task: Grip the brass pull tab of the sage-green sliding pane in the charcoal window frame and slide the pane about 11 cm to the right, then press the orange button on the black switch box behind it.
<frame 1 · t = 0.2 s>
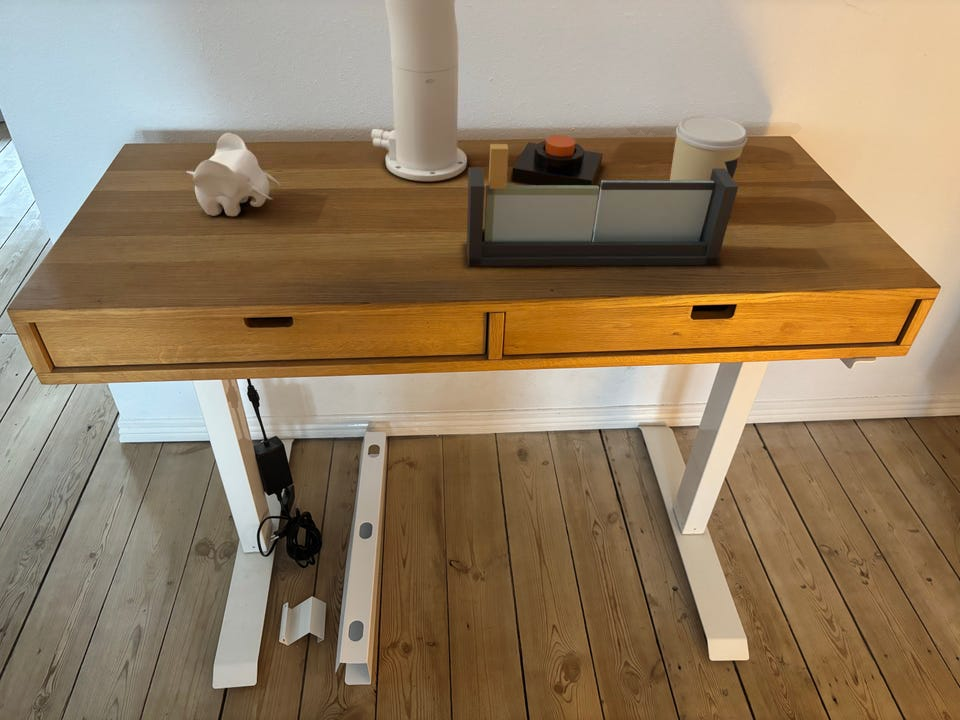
sliding pane: (541, 199, 89), point 8 cm above the table, slide at 0.0 cm
button: (560, 146, 110), point 4 cm above the table, slide at 0.1 cm
coffee cup: (692, 209, 106), on the table
switch box: (557, 173, 113), on the table
window frame: (590, 255, 95), on the table
elephant figurine: (237, 208, 102), on the table
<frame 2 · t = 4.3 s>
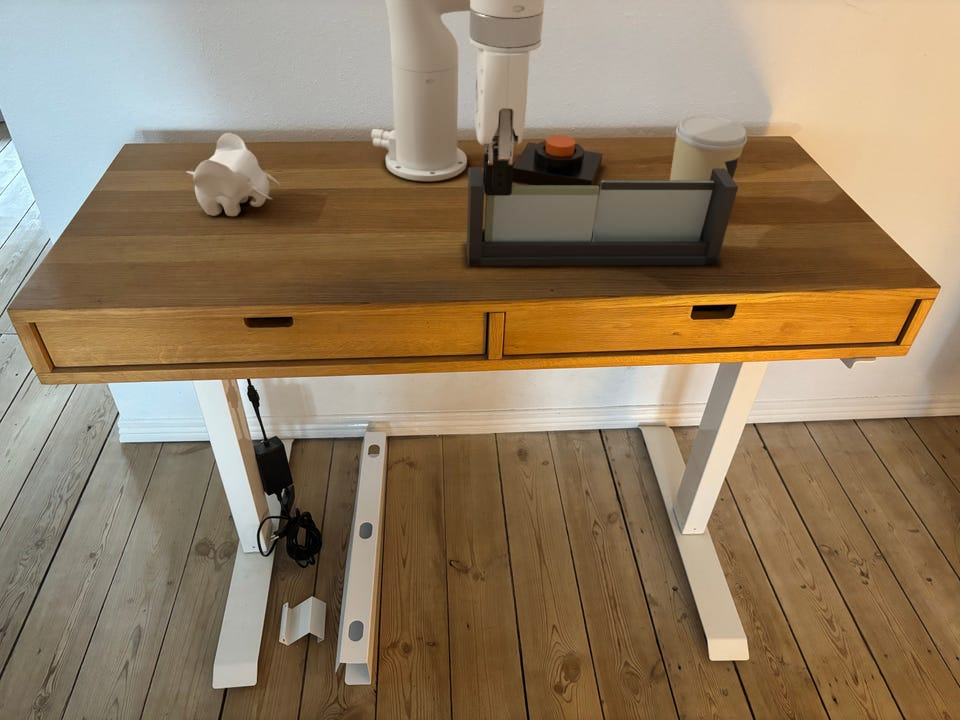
hand: (497, 189, 88), 10 cm above the table, tool pointing down, fingers closed
sliding pane: (541, 199, 89), point 8 cm above the table, slide at 0.0 cm, touching gripper
everything else where it was.
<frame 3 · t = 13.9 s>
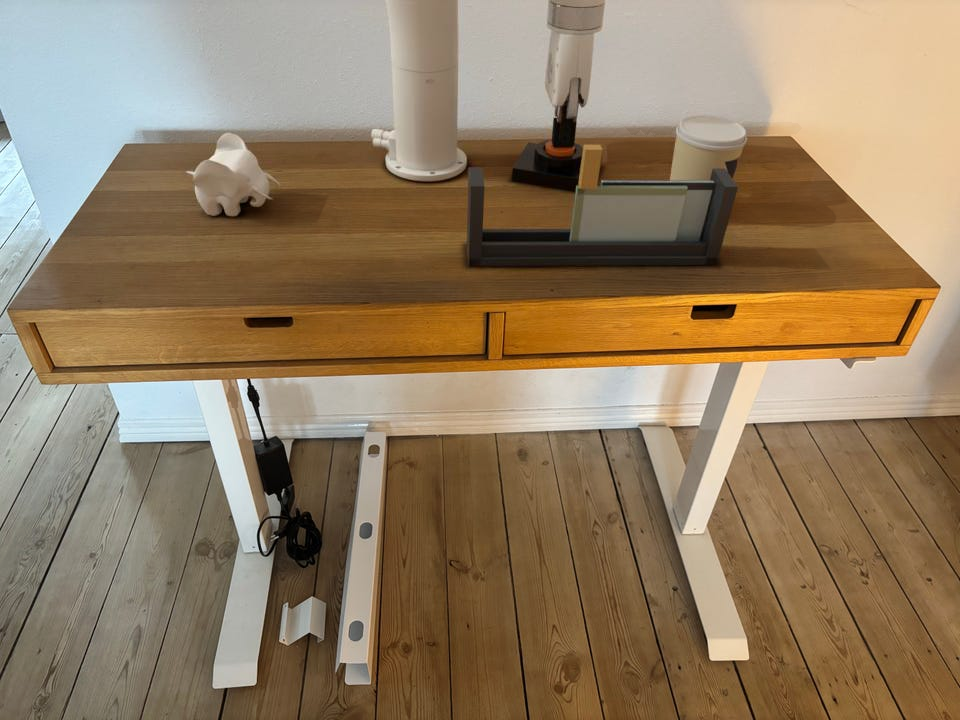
hand: (562, 145, 110), 5 cm above the table, tool pointing down, fingers closed
sliding pane: (629, 199, 90), point 8 cm above the table, slide at 10.9 cm
button: (559, 150, 111), point 4 cm above the table, slide at -0.6 cm, touching gripper
everything else where it was.
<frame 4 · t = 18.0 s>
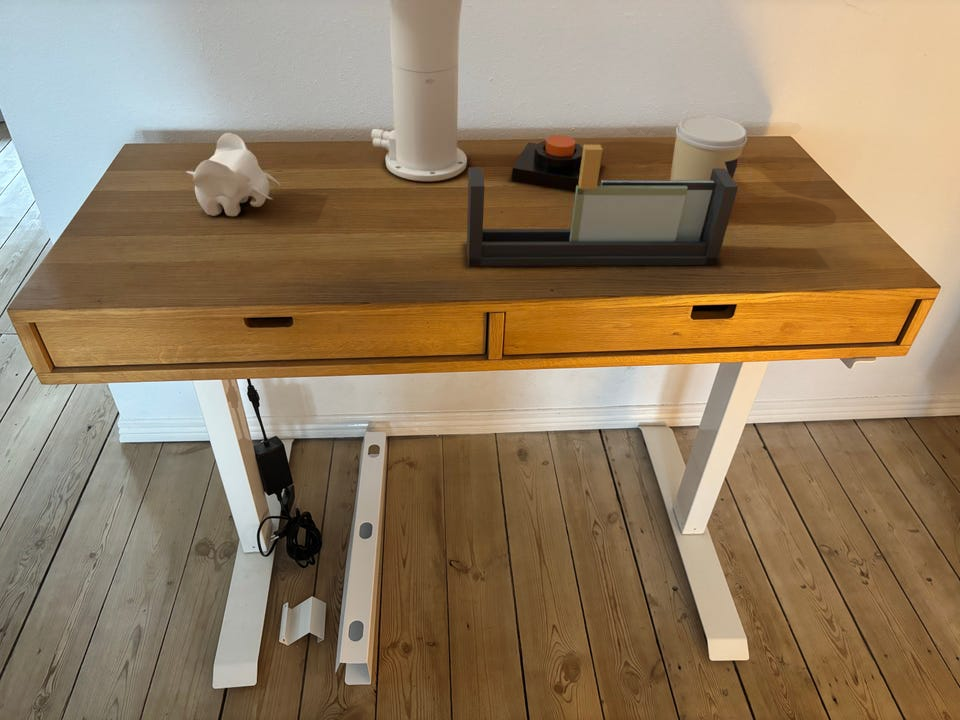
button: (560, 146, 110), point 4 cm above the table, slide at 0.1 cm
everything else where it was.
at the end: sliding pane slide at 10.9 cm; button pushed in 0.8 cm at the most during the clip, back to where it started at the end; button slide at 0.1 cm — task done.
